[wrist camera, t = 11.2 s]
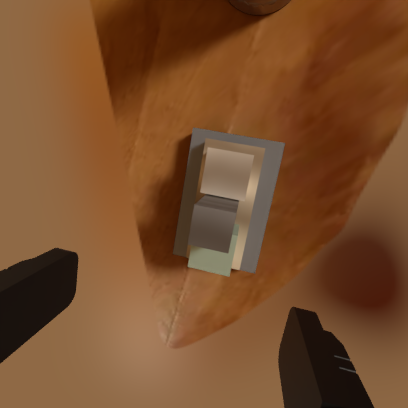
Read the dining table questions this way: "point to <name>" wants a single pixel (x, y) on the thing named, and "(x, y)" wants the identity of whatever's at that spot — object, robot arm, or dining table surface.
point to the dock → (261, 198)
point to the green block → (214, 257)
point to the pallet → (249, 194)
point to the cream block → (226, 174)
